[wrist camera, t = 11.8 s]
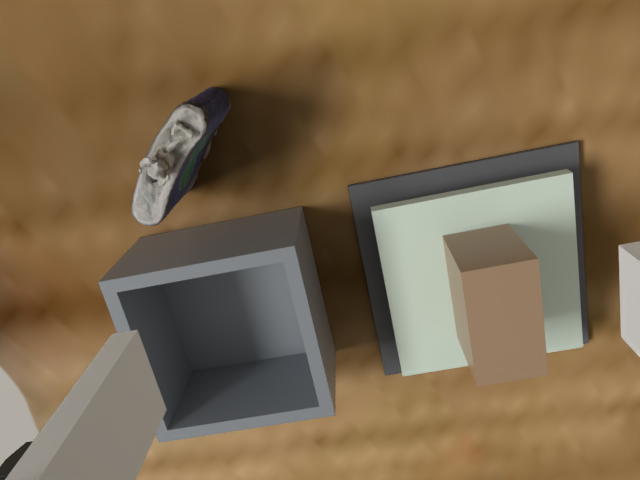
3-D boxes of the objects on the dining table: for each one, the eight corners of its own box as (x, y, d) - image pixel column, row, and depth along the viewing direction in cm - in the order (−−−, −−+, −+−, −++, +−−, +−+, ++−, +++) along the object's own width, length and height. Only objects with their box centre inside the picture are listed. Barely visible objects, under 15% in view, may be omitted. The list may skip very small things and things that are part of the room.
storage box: (140, 237, 48) (98, 282, 39) (302, 206, 46) (294, 245, 38) (187, 376, 52) (158, 442, 44) (335, 351, 51) (335, 415, 43)
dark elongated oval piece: (189, 197, 46) (148, 243, 36) (156, 180, 46) (105, 221, 36) (238, 96, 43) (208, 116, 33) (204, 77, 43) (163, 91, 33)
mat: (347, 185, 46) (347, 186, 45) (575, 140, 44) (578, 142, 43) (384, 372, 52) (385, 375, 51) (586, 339, 50) (588, 342, 49)
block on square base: (369, 201, 46) (377, 244, 36) (559, 164, 44) (616, 199, 35) (399, 359, 51) (412, 431, 42) (570, 330, 49) (623, 399, 40)
